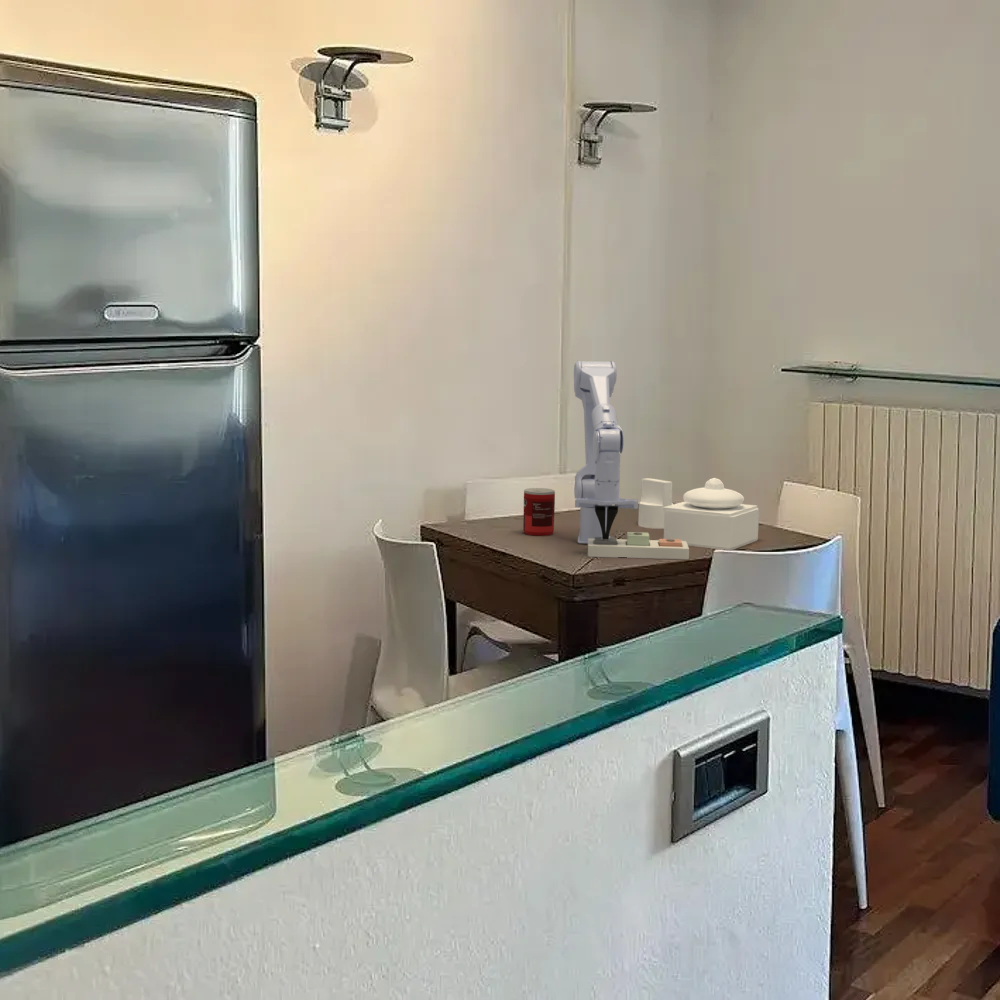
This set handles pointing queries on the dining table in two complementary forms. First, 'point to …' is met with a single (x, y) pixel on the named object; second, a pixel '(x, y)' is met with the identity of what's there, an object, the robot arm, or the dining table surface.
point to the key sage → (638, 538)
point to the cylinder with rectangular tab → (654, 502)
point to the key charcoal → (605, 541)
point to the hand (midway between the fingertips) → (605, 538)
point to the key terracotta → (670, 542)
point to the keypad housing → (638, 550)
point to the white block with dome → (712, 518)
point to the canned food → (539, 511)
